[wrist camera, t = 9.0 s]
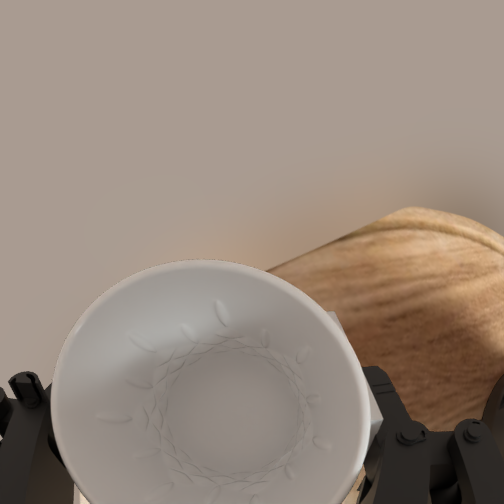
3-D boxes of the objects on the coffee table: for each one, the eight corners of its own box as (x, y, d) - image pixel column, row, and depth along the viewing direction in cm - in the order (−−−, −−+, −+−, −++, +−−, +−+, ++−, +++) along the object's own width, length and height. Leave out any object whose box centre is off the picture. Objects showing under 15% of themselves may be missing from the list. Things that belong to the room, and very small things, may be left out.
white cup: (285, 490, 11) (307, 585, 2) (151, 447, 12) (27, 463, 4) (323, 364, 15) (394, 296, 6) (193, 329, 16) (116, 232, 8)
